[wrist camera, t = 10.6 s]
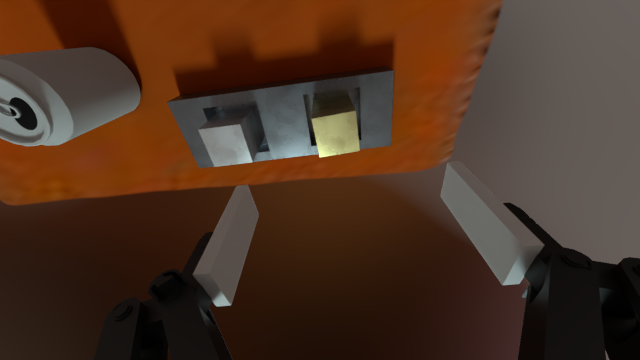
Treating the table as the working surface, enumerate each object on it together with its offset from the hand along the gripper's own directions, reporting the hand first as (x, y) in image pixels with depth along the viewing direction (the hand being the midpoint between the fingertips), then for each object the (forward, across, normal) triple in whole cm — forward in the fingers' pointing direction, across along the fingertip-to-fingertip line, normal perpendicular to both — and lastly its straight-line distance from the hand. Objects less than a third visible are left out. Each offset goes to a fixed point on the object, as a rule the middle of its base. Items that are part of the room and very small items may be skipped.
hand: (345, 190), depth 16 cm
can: (+18, -26, +7) cm, 33 cm away
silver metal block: (+17, -12, 0) cm, 21 cm away
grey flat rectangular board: (+18, -6, 0) cm, 19 cm away
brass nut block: (+17, 0, -1) cm, 17 cm away
